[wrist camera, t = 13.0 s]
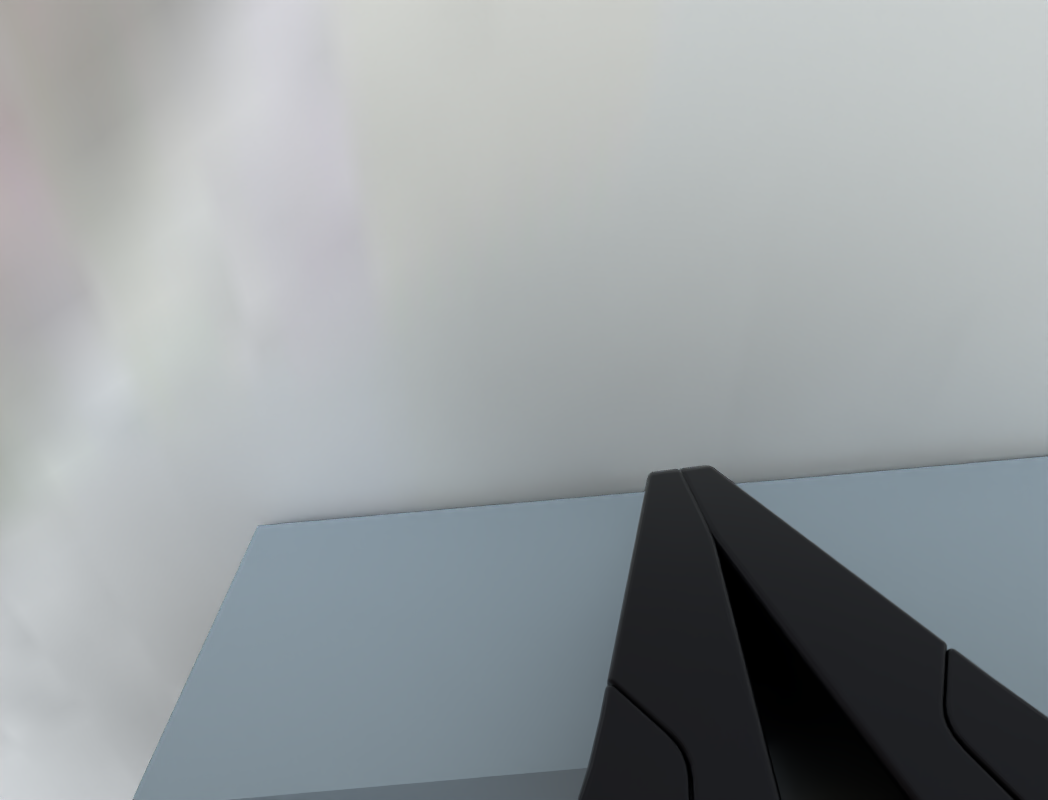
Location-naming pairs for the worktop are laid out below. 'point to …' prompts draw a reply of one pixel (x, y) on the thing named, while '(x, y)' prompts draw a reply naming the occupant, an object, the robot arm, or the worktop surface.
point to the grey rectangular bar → (543, 631)
